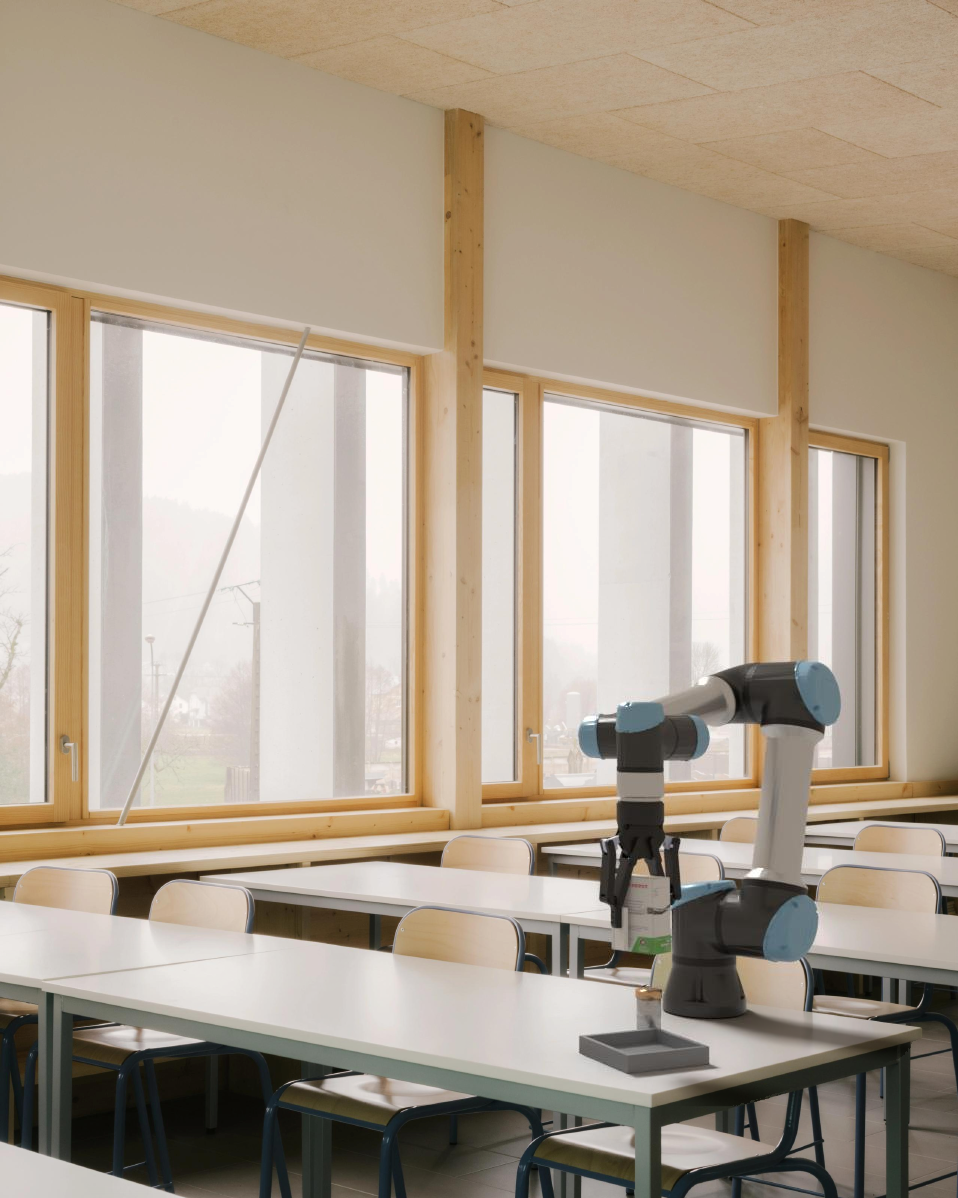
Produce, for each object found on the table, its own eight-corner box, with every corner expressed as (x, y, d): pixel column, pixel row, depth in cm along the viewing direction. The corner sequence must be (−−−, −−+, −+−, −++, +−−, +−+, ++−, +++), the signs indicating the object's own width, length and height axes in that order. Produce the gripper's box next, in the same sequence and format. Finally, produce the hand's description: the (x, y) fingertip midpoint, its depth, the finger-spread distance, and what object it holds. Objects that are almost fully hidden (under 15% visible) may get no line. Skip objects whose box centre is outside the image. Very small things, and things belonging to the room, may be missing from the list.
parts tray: (657, 1044, 229) (657, 1027, 229) (709, 1064, 216) (709, 1046, 216) (579, 1052, 222) (579, 1035, 223) (627, 1073, 209) (627, 1055, 210)
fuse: (653, 1035, 235) (652, 986, 236) (667, 1040, 231) (667, 991, 232) (630, 1037, 233) (630, 988, 234) (644, 1043, 229) (644, 993, 230)
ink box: (672, 952, 219) (672, 875, 220) (653, 956, 216) (653, 878, 217) (629, 946, 225) (629, 871, 226) (609, 949, 222) (609, 873, 223)
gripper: (678, 797, 230) (679, 941, 228) (575, 799, 222) (575, 948, 220) (704, 799, 223) (706, 947, 221) (599, 801, 215) (599, 955, 213)
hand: (640, 947), depth 221 cm, fingers closed on ink box, 6 cm apart
